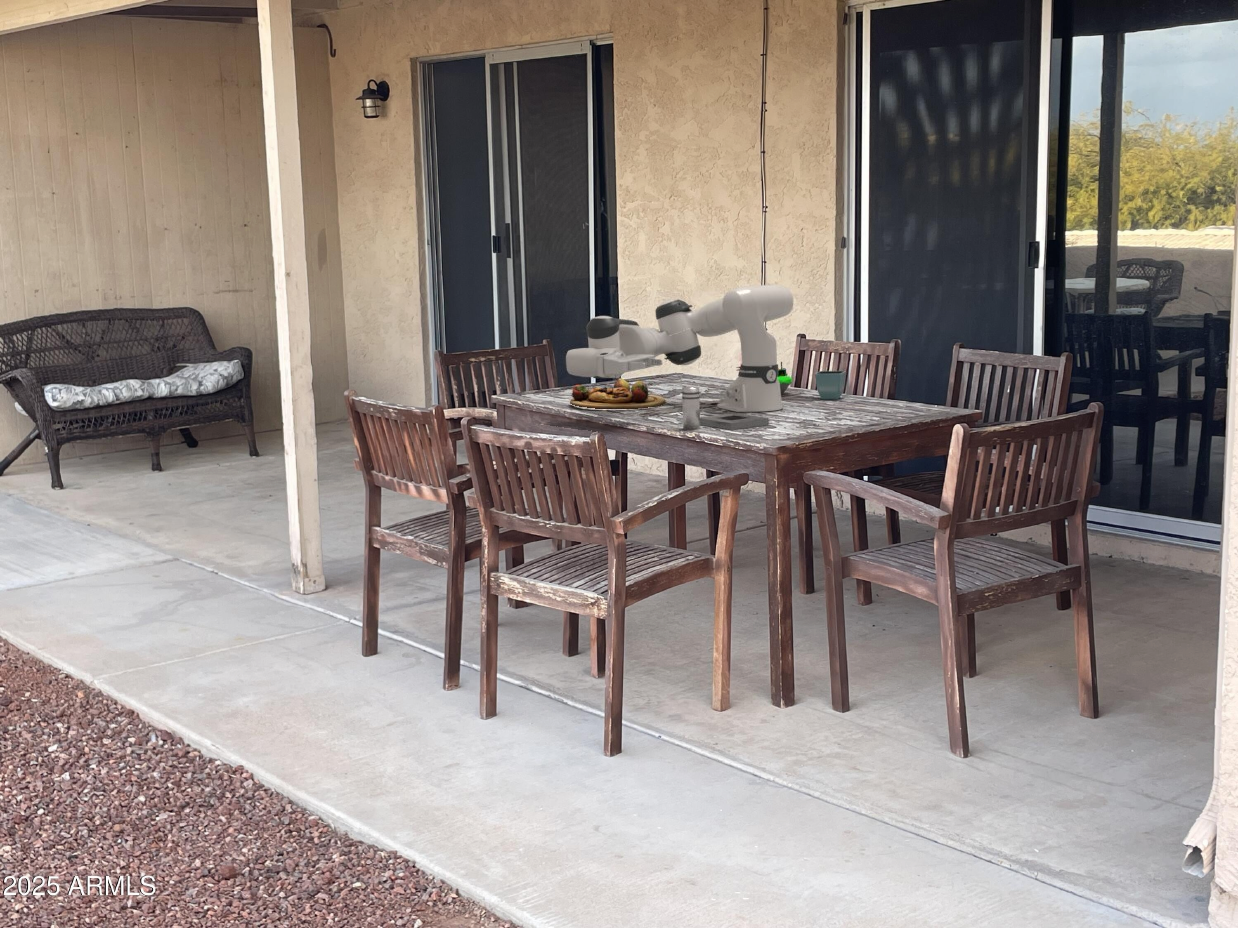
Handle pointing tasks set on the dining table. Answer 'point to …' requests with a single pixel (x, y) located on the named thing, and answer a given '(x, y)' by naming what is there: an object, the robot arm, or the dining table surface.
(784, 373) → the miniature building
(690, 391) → the white pepper mill
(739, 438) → the dining table surface
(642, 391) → the wooden plate with food
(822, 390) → the flower pot
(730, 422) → the bore block
